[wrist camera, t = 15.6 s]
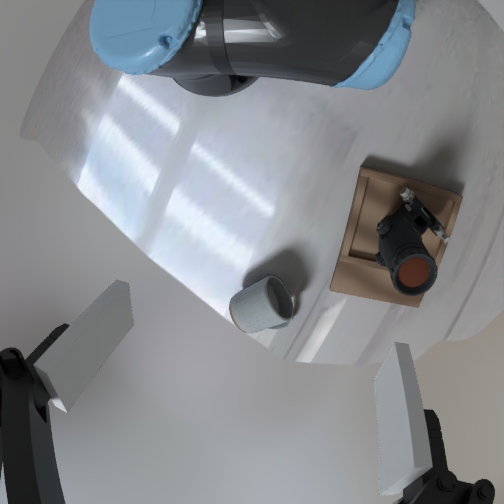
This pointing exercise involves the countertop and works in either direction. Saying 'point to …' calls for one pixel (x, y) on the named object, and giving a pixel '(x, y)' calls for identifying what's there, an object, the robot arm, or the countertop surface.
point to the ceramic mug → (262, 306)
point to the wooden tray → (366, 237)
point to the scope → (408, 246)
